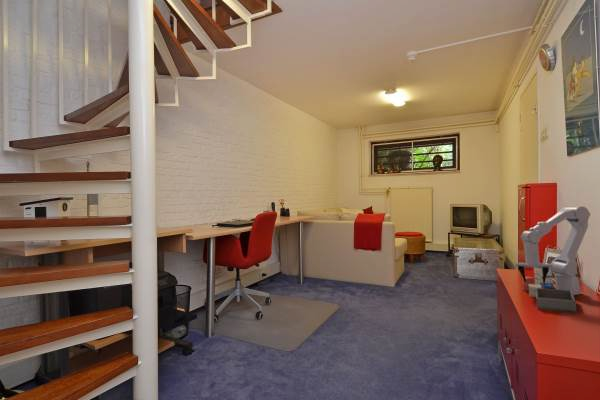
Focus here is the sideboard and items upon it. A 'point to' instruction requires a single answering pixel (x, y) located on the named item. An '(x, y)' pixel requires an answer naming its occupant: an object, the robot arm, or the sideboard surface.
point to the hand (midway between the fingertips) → (534, 282)
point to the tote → (555, 300)
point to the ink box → (539, 278)
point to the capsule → (527, 283)
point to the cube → (533, 290)
